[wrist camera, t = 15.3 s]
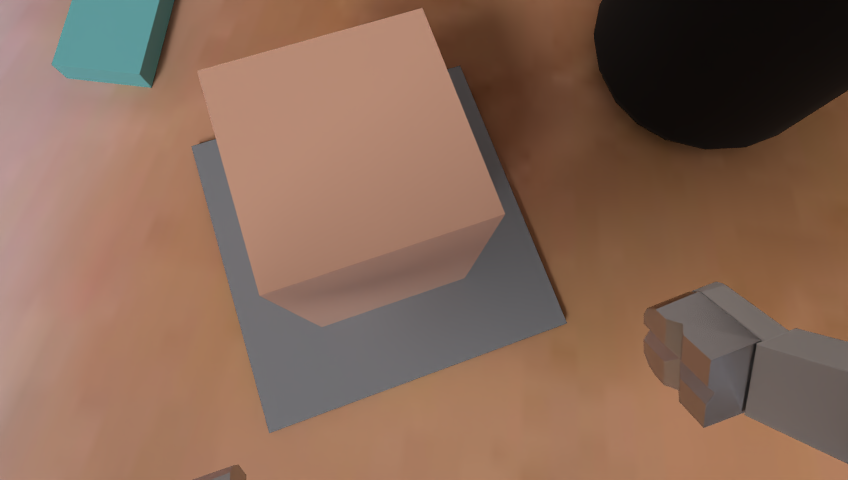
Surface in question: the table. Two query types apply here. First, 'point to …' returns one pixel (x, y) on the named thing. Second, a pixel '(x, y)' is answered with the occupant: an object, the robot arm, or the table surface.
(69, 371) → the table surface
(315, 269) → the cover
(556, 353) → the table surface
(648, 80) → the coffee jar
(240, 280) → the pad
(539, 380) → the table surface
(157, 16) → the stick
